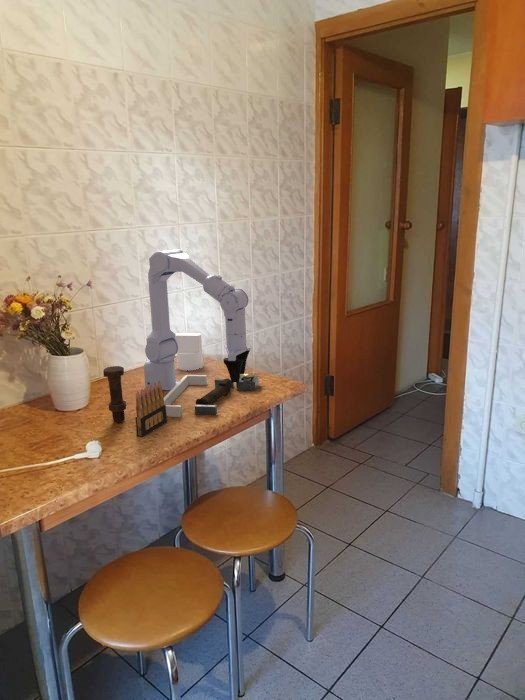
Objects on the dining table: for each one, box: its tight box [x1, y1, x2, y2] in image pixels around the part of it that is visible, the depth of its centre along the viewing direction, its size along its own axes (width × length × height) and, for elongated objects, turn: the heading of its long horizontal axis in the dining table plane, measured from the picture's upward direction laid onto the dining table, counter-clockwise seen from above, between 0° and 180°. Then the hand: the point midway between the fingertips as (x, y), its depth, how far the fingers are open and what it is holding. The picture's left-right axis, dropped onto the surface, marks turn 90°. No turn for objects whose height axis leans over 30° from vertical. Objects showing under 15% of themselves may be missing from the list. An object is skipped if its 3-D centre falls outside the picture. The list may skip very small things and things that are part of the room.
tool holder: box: [194, 374, 260, 416], centre depth 160 cm, size 14×27×3 cm, turn 171°
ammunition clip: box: [135, 381, 168, 438], centre depth 139 cm, size 11×2×12 cm, turn 154°
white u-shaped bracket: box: [163, 374, 208, 418], centre depth 161 cm, size 7×28×3 cm, turn 171°
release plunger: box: [241, 371, 254, 381], centre depth 169 cm, size 4×4×4 cm
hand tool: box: [195, 377, 232, 405], centre depth 159 cm, size 19×4×5 cm, turn 155°
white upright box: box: [175, 332, 204, 371], centre depth 192 cm, size 9×9×12 cm
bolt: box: [102, 365, 127, 424], centre depth 144 cm, size 6×5×15 cm
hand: (238, 377), depth 157 cm, fingers open, 7 cm apart
